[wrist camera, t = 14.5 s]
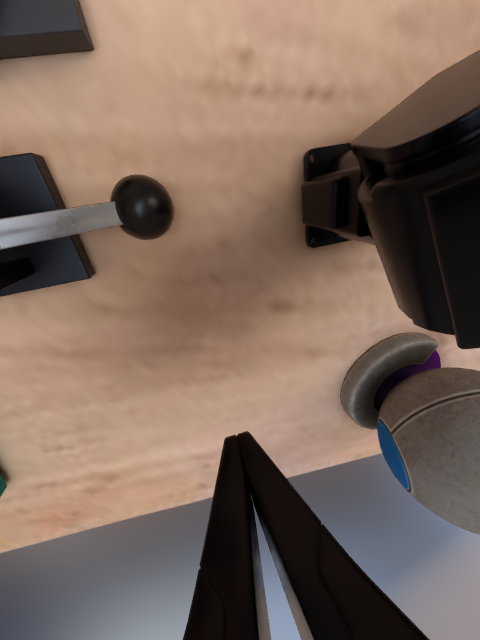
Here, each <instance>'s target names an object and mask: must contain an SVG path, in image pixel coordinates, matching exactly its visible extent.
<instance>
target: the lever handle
mask: <svg viewBox="0 0 480 640" xmlns="http://www.w3.org/2000/svg"><path fill="white" fill-rule="evenodd" d="M173 218H174V206H173V202H172V199H171V197H170V195H169V193H168V192H167V190H166V189H165V188H164V187H163V186H162V185H161V184H160V183H159V182H158V181H156V180H155V179H153V178H151V177H148V176H145V175H130V176H127V177H125V178H123V179H121V180H120V181H119V182H118V183H117V184H116V185H115V187H114V188H113V191H112V194H111V199H110V202H106V203H100V204H93V205H86V206H80V207H73V208H67V209H60V210H54V211H47V212H41V213H34V214H28V215H21V216H14V217H8V218H1V219H0V250H1V249H6V248H11V247H16V246H21V245H26V244H31V243H35V242H40V241H45V240H50V239H55V238H60V237H65V236H70V235H75V234H80V233H85V232H90V231H95V230H100V229H105V228H110V227H115V226H120V227H121V228H122V229H123V230H124V231H125V232H126V233H128V234H129V235H131V236H133V237H135V238H138V239H143V240H151V239H156V238H158V237H160V236H162V235H163V234H165V233H166V232H167V231H168V230H169V228H170V226H171V224H172V222H173Z"/></svg>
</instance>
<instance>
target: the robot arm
mask: <svg viewBox="0 0 480 640" xmlns="http://www.w3.org/2000/svg"><path fill="white" fill-rule="evenodd" d="M311 154H312V155H313V156H314V160H313V162H311V161H310V155H311ZM302 209H303V223H304V224H305V232H306V244H307V246H309V247H311V248H316V247H320V246H325V245H330V244H334V243H339V242H344V241H349V240H355V241H359V242H363V243H368V244H372V245H376V248H377V251H378V253H379V256H380V259H381V261H382V264H383V267H384V270H385V272H386V275H387V278H388V280H389V283H390V286H391V288H392V291H393V294H394V297H395V299H396V302H397V305H398V307H399V308H400V309H401V310H402V311H403V312H404V313H405V314H406V315H407V316H408V317H409V318H411V319H412V320H413V323H414V324H415V325H417V326H420V327H422V328H425V329H427V330H430V331H435V332H440V333H445V334H451V335H455V337H456V341H457V346H458V347H459V348H461V349H472V348H480V50H479V51H477V52H475V53H473V54H472V55H470V56H468V57H466V58H465V59H463V60H461V61H459V62H458V63H456V64H454V65H452V66H451V67H449V68H447V69H445V70H444V71H442V72H440V73H438V74H437V75H435V76H434V77H432V78H431V79H430V80H428V81H427V82H426V83H425V84H423V85H422V86H421V87H420V88H418V89H417V90H416V91H415V92H413V93H412V94H411V95H410V96H408V97H407V98H406V99H405V100H403V101H402V102H401V103H400V104H398V105H397V106H396V107H395V108H393V109H392V110H391V111H390V112H388V113H387V114H386V115H385V116H383V117H382V118H381V119H380V120H378V121H377V122H376V123H374V124H373V125H372V126H371V127H369V128H368V129H367V130H366V131H364V132H363V133H362V134H361V135H359V136H358V137H357V138H356V139H354V140H353V141H352V142H351V143H346V144H340V145H333V146H327V147H321V148H314V149H311V150H309V151H307V152H306V153H305V155H304V184H303V186H302ZM313 238H314V239H315V241H314V243H312V244H311V240H312V239H313ZM238 442H239V443H238ZM239 446H240V447H239ZM245 471H246V472H245ZM246 475H247V476H246ZM251 496H252V497H251ZM252 500H253V502H252ZM253 503H254V506H255V509H256V512H257V515H258V518H259V521H260V524H261V527H262V529H263V532H264V535H265V538H266V541H267V543H268V546H269V549H270V552H271V555H272V558H273V560H274V563H275V566H276V569H277V572H278V575H279V577H280V580H281V583H282V586H283V589H284V592H285V594H286V597H287V600H288V603H289V605H290V608H291V611H292V614H293V617H294V619H295V623H296V625H297V628H298V631H299V634H300V637H301V639H302V640H429V639H428V638H427V637H426V636H425V635H424V634H423V632H422V631H421V630H420V629H419V628H418V627H417V626H416V625H415V624H414V623H413V622H412V621H411V620H410V619H409V618H408V617H407V616H406V615H405V614H404V613H403V612H402V611H401V610H400V609H399V608H398V607H397V606H396V605H395V604H394V603H393V602H392V601H391V600H390V598H389V597H388V596H387V595H386V594H385V593H383V591H382V590H381V589H380V588H379V587H378V586H377V585H376V584H375V583H374V582H373V581H372V580H371V579H370V578H369V577H368V576H367V575H366V573H365V572H364V571H363V570H362V569H361V568H360V567H359V566H358V565H357V564H356V563H355V562H354V561H353V559H352V558H351V557H350V556H349V555H348V554H347V552H346V551H345V550H344V549H343V548H342V546H341V545H340V544H339V543H338V542H337V541H336V539H335V538H334V537H333V536H332V534H331V533H330V532H329V531H328V530H327V528H326V527H325V526H324V525H323V524H322V525H321V521H320V520H319V519H318V517H317V516H316V515H315V514H314V512H313V511H312V510H311V509H310V507H309V506H308V505H307V504H306V502H305V501H304V500H303V499H302V497H301V496H300V495H299V494H298V492H297V491H296V490H295V489H294V487H293V486H292V485H291V484H290V482H289V481H288V480H287V479H286V477H285V476H284V475H283V474H282V472H281V471H280V470H279V469H278V467H277V466H276V465H275V464H274V462H273V461H272V460H271V459H270V457H269V456H268V455H267V454H266V453H265V451H264V450H263V449H262V448H261V446H260V445H259V444H258V443H257V441H256V440H255V439H254V438H253V436H252V435H251V434H250V433H249V432H248V431H246V432H242V433H239V434H238V435H237V436H236V435H232V436H229V437H226V438H225V440H224V445H223V450H222V455H221V460H220V465H219V470H218V475H217V480H216V485H215V490H214V495H213V501H212V506H211V511H210V516H209V521H208V526H207V531H206V536H205V542H204V546H203V551H202V556H201V561H200V567H201V568H200V569H199V571H198V576H197V581H196V586H195V591H194V595H193V600H192V604H191V609H190V613H189V618H188V622H187V626H186V630H185V634H184V638H183V640H271V635H270V627H269V619H268V612H267V604H266V597H265V589H264V582H263V575H262V567H261V559H260V552H259V544H258V537H257V529H256V522H255V514H254V508H253Z"/></svg>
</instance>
